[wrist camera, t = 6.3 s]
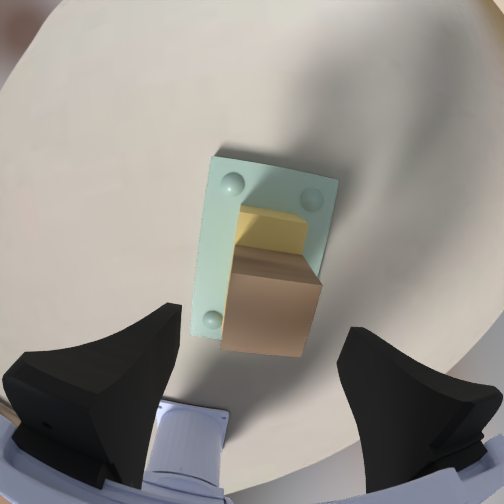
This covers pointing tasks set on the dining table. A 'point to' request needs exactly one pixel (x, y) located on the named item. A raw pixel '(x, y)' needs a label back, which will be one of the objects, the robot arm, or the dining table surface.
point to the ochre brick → (269, 232)
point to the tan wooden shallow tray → (9, 414)
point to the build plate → (226, 218)
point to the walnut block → (269, 302)
